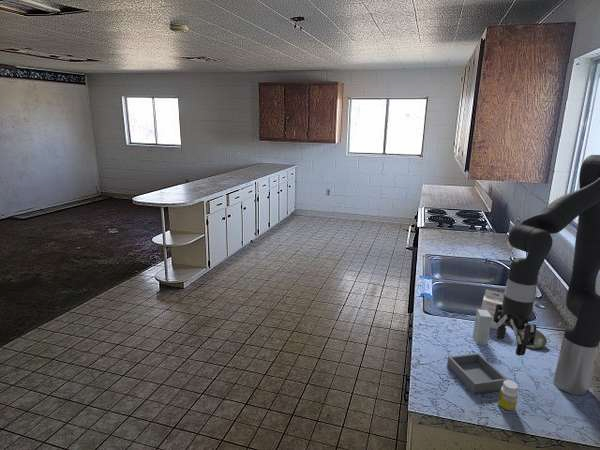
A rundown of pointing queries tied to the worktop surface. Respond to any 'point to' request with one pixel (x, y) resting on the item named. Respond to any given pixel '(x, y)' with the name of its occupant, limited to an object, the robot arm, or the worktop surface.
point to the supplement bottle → (508, 396)
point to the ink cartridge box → (492, 304)
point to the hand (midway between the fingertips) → (509, 346)
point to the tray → (476, 373)
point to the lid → (536, 340)
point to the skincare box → (482, 327)
